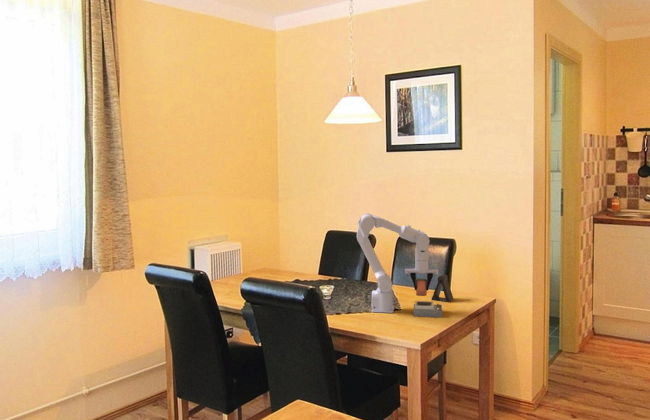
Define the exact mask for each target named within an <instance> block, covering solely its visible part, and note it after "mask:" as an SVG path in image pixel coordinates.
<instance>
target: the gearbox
mask: <svg viewBox="0 0 650 420" xmlns="http://www.w3.org/2000/svg"><path fill="white" fill-rule="evenodd" d="M413 317H422V318H423V317H424V318H425V317H426V318H443V307H442V304H440V303H436V304H434V301H427V300H415V302H414V304H413Z"/></svg>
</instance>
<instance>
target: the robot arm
mask: <svg viewBox="0 0 650 420" xmlns="http://www.w3.org/2000/svg"><path fill="white" fill-rule="evenodd" d="M374 228H375V229H379V228H384V229H387V230H389V231H392V232H395V233H396V234H398V236H399V237H400V238H401V239H403V240H406V241H408V242H410V243H415V249H414V250H415V251H414V257H415V258H414V263H415V264H414V267H413V268H405V269H404V274H405V275H407V274H409V276H410V278H411V281H412V283H413V288H414V291H416V280H417V274H418V275H420V274H421V275H422V274H423V275H426V280H427V291H429V287H430V284H431V282H432V279H433V277H434V275H436V276H437V275H439V269H435V268H429V244H430V237H429V235H427V234H426V233H425V232H424V231H421V230H420V229H415V228H413V227H412V226H411V225H409V224H408V225H406V224H404V225H402V226H401V225H398V224H396V223H394V222H392V221H390V220H388V219H385V218H384V217H381V216H378V215H375V214H373V215H372V214H371V213H364V214H362V216H361V217H360V219H359V221H358V225H357V231H356V240H357V242H358V244H359V245H360V249H361V250H362V252H363V253H364V256H365V258H366V259H367V261H368V264H369V266H370V268H371V270H372V272H373V274H374V276H375V278H376V283H377V288H376V289H375V290H372V291H371V310H370V311H371V312H372V313H387V314H388V313H390V314H392V313H394V309H395V307H394V306H393V303H394V301H393V300H394V295H393V293H394V291H393V282H392V279H391V276H390V275H388V274H387V273H386V271H385V269H384V267H383V265H382V264H381V261H380V259H379V257H378V256H377V253H376V251H375V249H374V247H373V246H372V244H371V241H370V239H369V235H370V233H371V232H372V230H373V229H374Z"/></svg>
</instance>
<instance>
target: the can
mask: <svg viewBox="0 0 650 420" xmlns="http://www.w3.org/2000/svg"><path fill="white" fill-rule="evenodd" d="M427 293H428V292H427V278H421V277H418V278H416V290H415V295H416V296H418V297H425V296H427Z"/></svg>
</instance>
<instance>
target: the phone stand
mask: <svg viewBox="0 0 650 420" xmlns="http://www.w3.org/2000/svg"><path fill="white" fill-rule="evenodd" d="M448 278H449V276H448V274H444V273H442V274H441V275H439V276H438V278H437V284H436V286H435V289H434V291H433V294H432V295H431V296H432V297H431V301H433V302H434V301H436V302H442V303H450V302H452V301H453V300H454V296H453V293H452V291H451V287H450V283H449V281H448V280H449V279H448ZM441 291H443V293H444V296H443V297H442V296H440V294H441Z"/></svg>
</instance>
